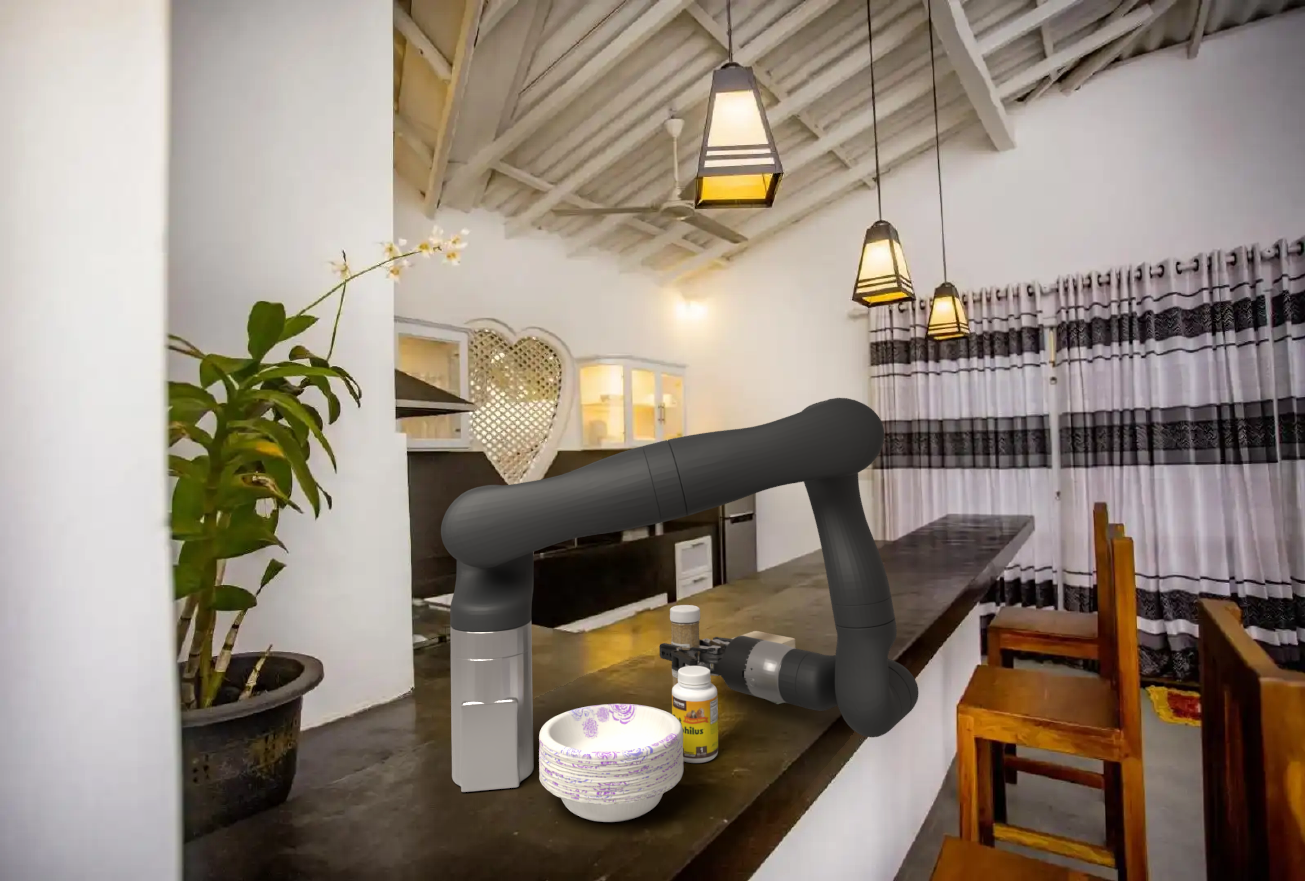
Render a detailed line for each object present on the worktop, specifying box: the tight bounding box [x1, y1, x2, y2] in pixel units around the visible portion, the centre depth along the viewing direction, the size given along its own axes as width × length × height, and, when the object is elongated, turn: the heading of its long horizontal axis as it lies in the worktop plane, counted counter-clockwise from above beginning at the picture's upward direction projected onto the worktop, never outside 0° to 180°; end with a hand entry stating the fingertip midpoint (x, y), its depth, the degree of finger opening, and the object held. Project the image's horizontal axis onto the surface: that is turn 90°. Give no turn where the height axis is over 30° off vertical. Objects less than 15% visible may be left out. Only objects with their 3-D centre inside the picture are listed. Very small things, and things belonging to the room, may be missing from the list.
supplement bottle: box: [671, 666, 719, 764], centre depth 83 cm, size 6×6×10 cm
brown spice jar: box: [669, 604, 701, 688], centre depth 103 cm, size 5×5×13 cm
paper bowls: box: [538, 703, 684, 823], centre depth 72 cm, size 15×15×8 cm
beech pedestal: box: [730, 630, 796, 648], centre depth 112 cm, size 8×8×6 cm
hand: (672, 646), depth 105 cm, fingers closed on brown spice jar, 4 cm apart
